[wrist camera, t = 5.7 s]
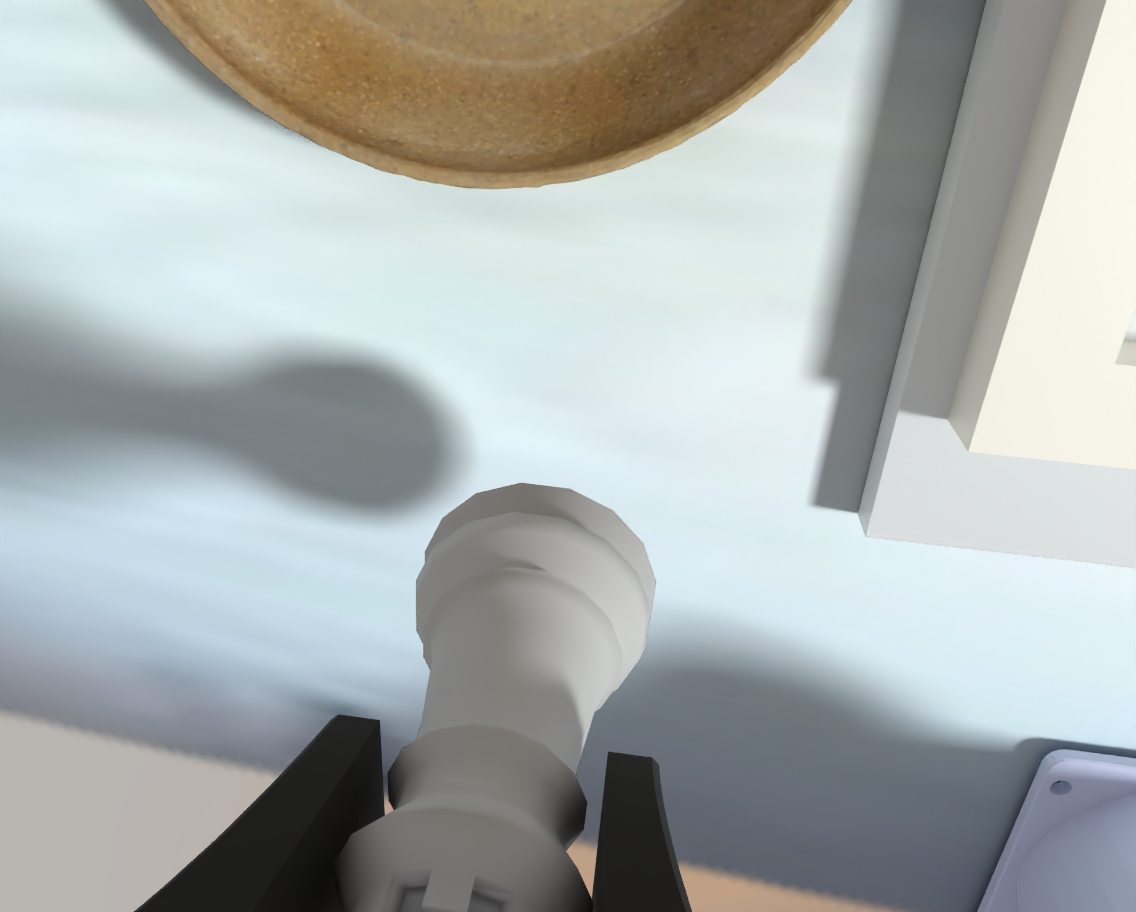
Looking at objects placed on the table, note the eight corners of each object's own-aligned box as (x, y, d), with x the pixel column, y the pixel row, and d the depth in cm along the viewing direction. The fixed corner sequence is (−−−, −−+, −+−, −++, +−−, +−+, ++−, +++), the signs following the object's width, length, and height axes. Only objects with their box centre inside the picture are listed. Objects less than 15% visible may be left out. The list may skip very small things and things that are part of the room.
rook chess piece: (503, 685, 18) (395, 1111, 11) (385, 524, 17) (174, 902, 10) (696, 616, 17) (707, 1052, 10) (586, 432, 15) (508, 798, 8)
